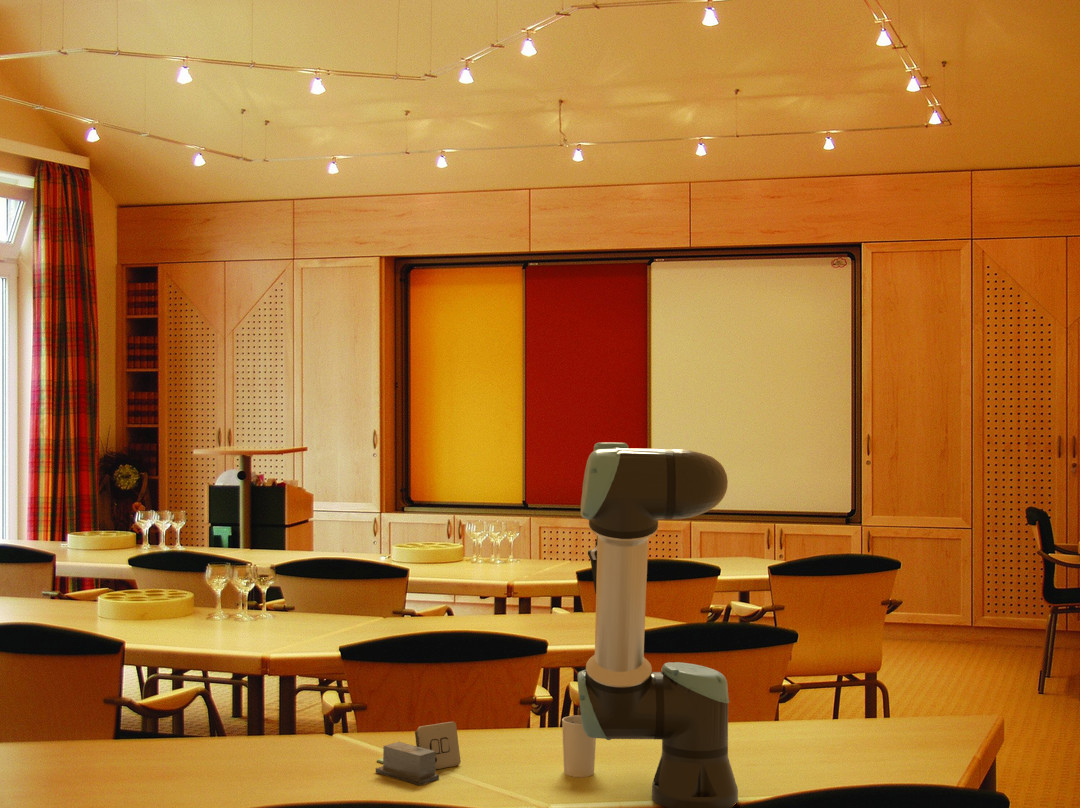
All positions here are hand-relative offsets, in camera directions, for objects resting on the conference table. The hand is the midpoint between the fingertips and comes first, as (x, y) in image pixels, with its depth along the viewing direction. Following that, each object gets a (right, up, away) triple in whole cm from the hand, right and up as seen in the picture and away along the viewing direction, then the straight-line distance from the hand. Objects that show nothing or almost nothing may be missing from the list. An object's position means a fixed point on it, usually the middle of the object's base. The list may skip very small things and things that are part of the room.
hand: (609, 628), depth 227 cm
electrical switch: (-35, -24, -17) cm, 45 cm away
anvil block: (-39, -23, -23) cm, 51 cm away
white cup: (-7, -24, -20) cm, 32 cm away
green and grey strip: (-40, -24, -8) cm, 48 cm away
